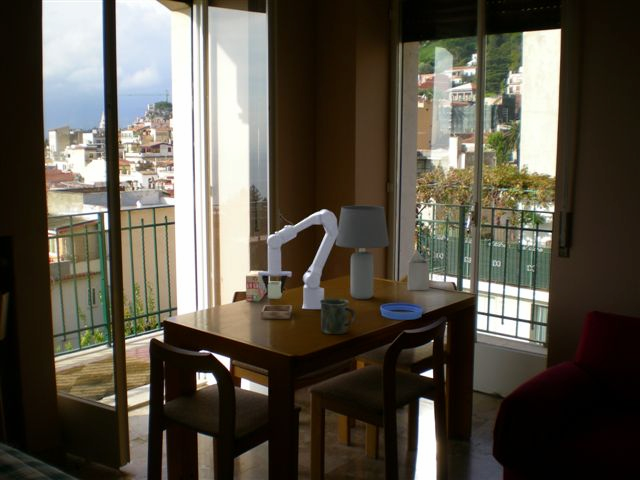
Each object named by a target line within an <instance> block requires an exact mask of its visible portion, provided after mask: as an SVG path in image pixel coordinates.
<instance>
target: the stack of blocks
mask: <svg viewBox="0 0 640 480" xmlns="http://www.w3.org/2000/svg"><path fill="white" fill-rule="evenodd" d="M263 271H264V270H250V272H248V273H247V274H246V275H245V301H246V302H260V301H261V300H262V299H263V297H264V296H265V295H266V294H267V290H266V286H265V284H264V282H263V280H262V276H261V277H258V272H263Z"/></svg>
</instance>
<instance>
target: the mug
mask: <svg viewBox="0 0 640 480" xmlns="http://www.w3.org/2000/svg"><path fill="white" fill-rule="evenodd" d="M320 303H321V309H320V330H321V332H322V333H324V334H329V335H341V334H343V335H344V334H346V333H347V332H348V327H349V326H351V325H353V323H354V322H355V318H356V313H355V310H354V309H353V308H351V307H348V305H349V303H350V302H349V300H347V299H344V298H338V297H337V298H336V297H329V298H327V297H326V298H324V299H322V300H321V301H320ZM349 312H350V313H351V317H350V322H348V318H349V317H348V315H349V314H348V313H349Z"/></svg>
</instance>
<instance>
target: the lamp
mask: <svg viewBox="0 0 640 480" xmlns="http://www.w3.org/2000/svg"><path fill="white" fill-rule="evenodd" d="M340 208H341V209H340V215H339V221H338V225H337V228H338V235H337V237H336V239H335V245H336V246H337V247H341V248H346V249H347V248H349V249H359V251H355V252H354V253H352V254H351V257H350V291H349V292H350V296H351V297H352V298H353V299H356V300H369V299H371V298H372V297H373V295H374V276H375V275H374V270H375V269H374V268H375V267H374V265H375V264H374V261H375V260H374V255H373V254H372V253H371V252H368V251H366V249H378V248H379V249H381V248H385V247H389V246H390V240H389V234H388V226H387V221H386V220H387V218H386V212H385V207H383V206H379V205H347V206H341V207H340Z"/></svg>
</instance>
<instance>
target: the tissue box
mask: <svg viewBox="0 0 640 480" xmlns="http://www.w3.org/2000/svg"><path fill="white" fill-rule="evenodd" d="M430 264H431V263H430V262H429V261H427V260H426V259H425V257H423V256H422V255H421V253H420V252H419V251H418V250H417V249H416V250H415V251H414V252H413V254H412V256H411V258H410V259H409V261H408V264H407V291H427V290H428V291H429V290H430V275H431V273H430V271H431V269H430V267H431V265H430Z"/></svg>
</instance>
